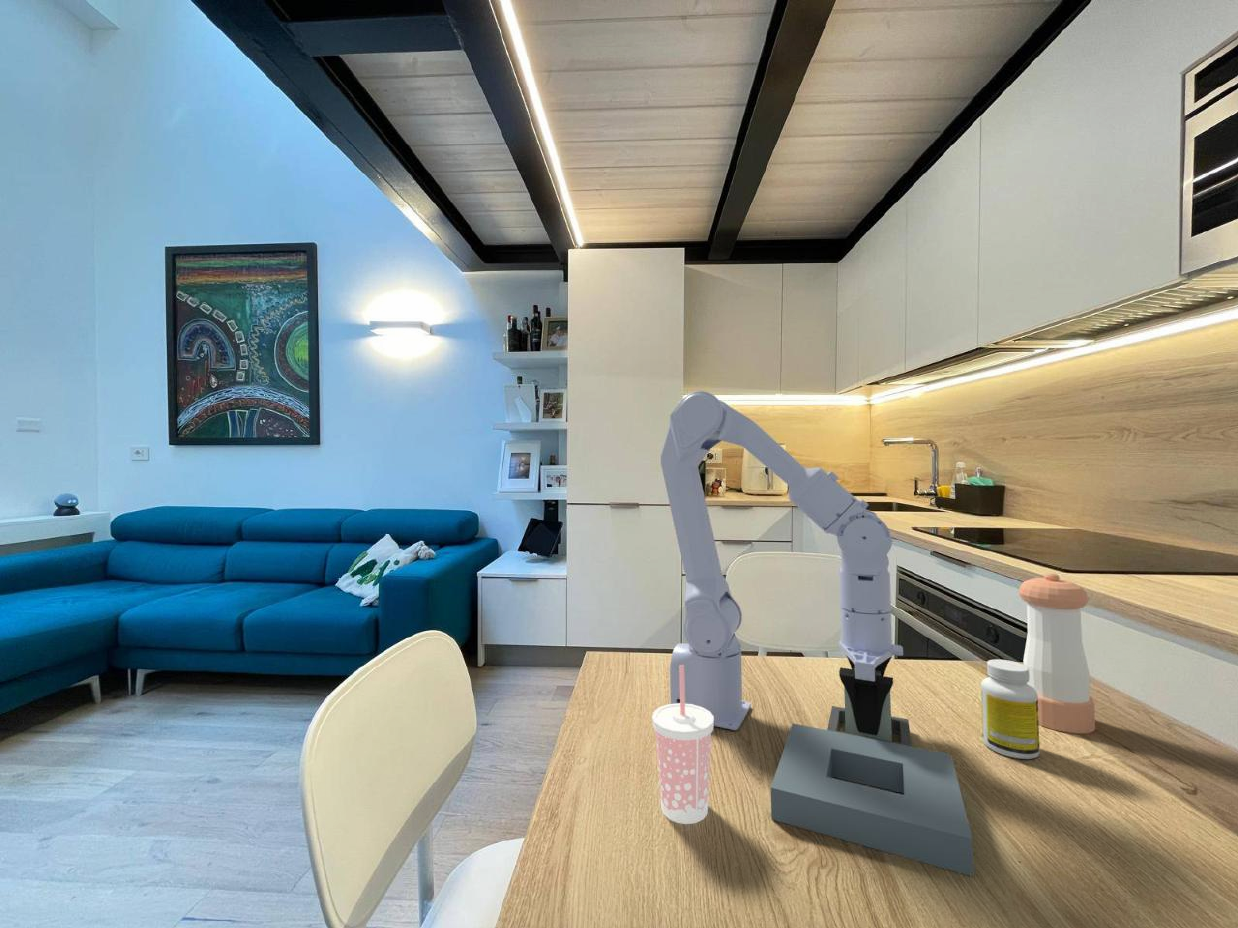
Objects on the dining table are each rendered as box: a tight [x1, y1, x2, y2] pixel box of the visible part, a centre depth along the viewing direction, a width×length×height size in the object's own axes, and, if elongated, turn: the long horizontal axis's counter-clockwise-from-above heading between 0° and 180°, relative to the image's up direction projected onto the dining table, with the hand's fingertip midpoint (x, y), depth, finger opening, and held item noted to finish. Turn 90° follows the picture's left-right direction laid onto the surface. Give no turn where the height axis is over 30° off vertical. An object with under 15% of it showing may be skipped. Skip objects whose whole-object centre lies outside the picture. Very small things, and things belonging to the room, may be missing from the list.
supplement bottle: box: [980, 659, 1040, 760], centre depth 61 cm, size 5×5×10 cm
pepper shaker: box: [1018, 572, 1096, 735], centre depth 67 cm, size 7×7×19 cm
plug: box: [843, 668, 893, 742], centre depth 63 cm, size 5×4×8 cm
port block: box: [770, 723, 975, 878], centre depth 51 cm, size 16×14×3 cm
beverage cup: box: [651, 665, 715, 825], centre depth 51 cm, size 6×6×14 cm
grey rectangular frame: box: [826, 705, 913, 747], centre depth 63 cm, size 9×8×2 cm
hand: (868, 718), depth 63 cm, fingers open, 7 cm apart
